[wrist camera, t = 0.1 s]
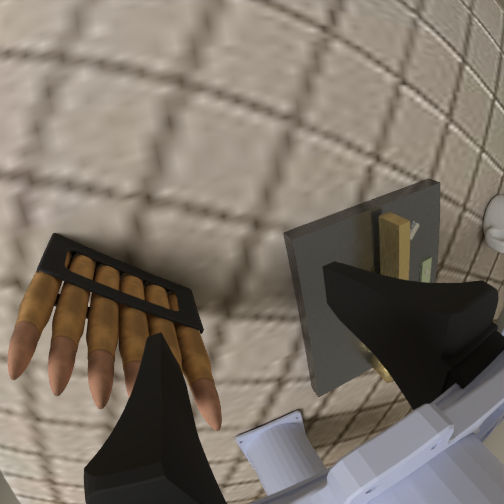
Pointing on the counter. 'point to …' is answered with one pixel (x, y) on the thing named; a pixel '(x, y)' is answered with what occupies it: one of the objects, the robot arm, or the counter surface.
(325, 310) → the base plate
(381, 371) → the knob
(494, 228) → the cup
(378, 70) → the counter surface
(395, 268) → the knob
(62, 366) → the ammunition clip
